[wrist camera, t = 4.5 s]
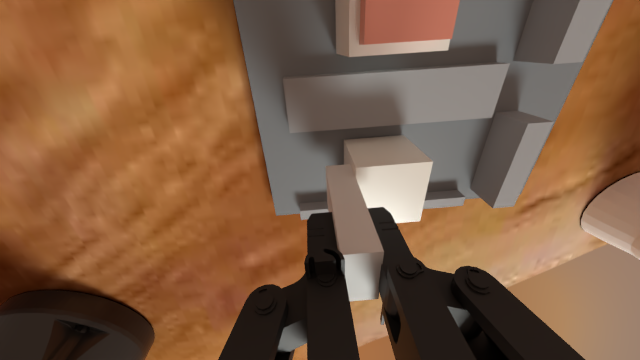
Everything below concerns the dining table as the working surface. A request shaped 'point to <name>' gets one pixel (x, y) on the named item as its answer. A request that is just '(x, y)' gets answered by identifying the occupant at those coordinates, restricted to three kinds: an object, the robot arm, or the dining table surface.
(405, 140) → the block
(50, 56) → the dining table surface
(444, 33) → the block
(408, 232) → the dining table surface
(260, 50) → the panel
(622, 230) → the cup
